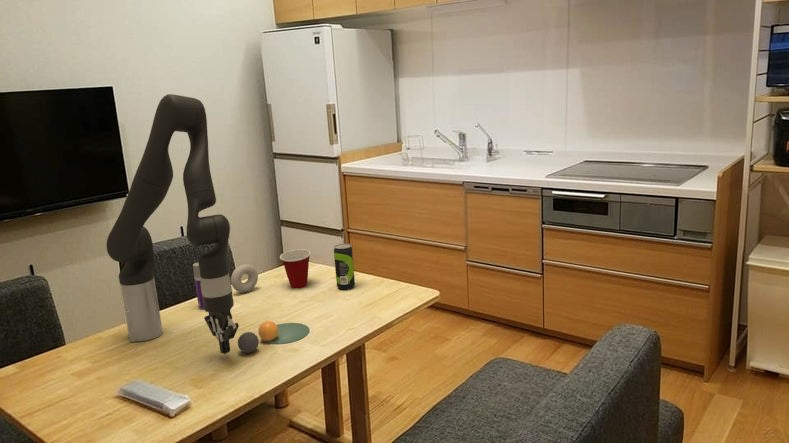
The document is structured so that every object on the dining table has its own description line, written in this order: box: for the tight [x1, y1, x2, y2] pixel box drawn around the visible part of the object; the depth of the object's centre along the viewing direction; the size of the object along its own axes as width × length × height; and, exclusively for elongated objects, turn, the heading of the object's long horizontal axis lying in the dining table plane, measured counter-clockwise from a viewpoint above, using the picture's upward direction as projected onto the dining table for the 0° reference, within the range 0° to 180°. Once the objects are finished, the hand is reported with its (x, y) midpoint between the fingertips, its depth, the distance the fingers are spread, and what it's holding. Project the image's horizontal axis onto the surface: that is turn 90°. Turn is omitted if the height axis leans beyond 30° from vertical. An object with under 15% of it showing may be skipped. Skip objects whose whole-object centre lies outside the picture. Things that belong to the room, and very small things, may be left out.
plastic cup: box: [279, 248, 312, 289], centre depth 211 cm, size 11×11×12 cm
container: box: [192, 262, 205, 311], centre depth 196 cm, size 5×5×15 cm
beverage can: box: [333, 243, 356, 291], centre depth 207 cm, size 6×6×15 cm
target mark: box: [260, 322, 310, 345], centre depth 174 cm, size 14×14×1 cm
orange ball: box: [257, 320, 278, 341], centre depth 170 cm, size 6×6×6 cm
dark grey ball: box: [237, 331, 260, 354], centre depth 163 cm, size 6×6×6 cm
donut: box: [230, 263, 259, 294], centre depth 209 cm, size 10×4×10 cm, turn 133°
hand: (225, 352), depth 161 cm, fingers closed
